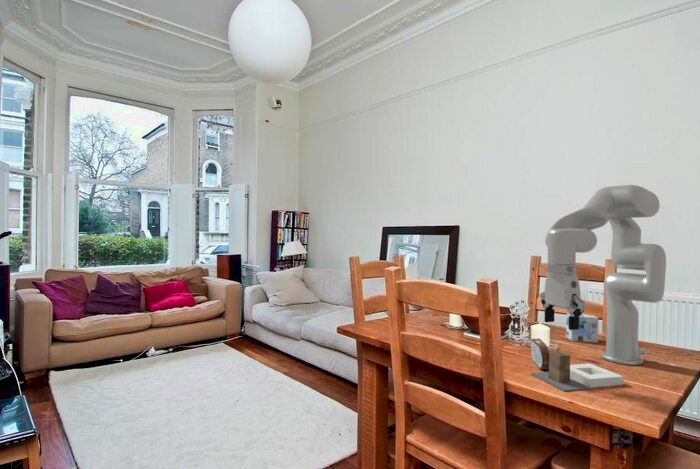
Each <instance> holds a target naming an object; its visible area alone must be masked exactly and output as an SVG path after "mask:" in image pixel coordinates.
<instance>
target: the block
mask: <svg viewBox="0 0 700 469" xmlns="http://www.w3.org/2000/svg"><path fill="white" fill-rule="evenodd" d="M570 365H571V354H567V353H566V352H563V351H559V350H558V351H549V370H548V372H549V378H550V379H552V380H554V381H556V382H558V383H563V382H570V379H571V378H570Z"/></svg>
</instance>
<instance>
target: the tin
mask: <svg viewBox="0 0 700 469" xmlns="http://www.w3.org/2000/svg"><path fill="white" fill-rule="evenodd" d="M549 352H550V351H549V346H548V345H547V344H546V343H545V342H544V341H543V340H542V339H541V338H532V339H531V340H530V353H531V354H530V355H531V359H532V361H533V362H534V364H535V365H536V366H537V368H538V369H539V370H542V371H543V370H546V371H549Z"/></svg>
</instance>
